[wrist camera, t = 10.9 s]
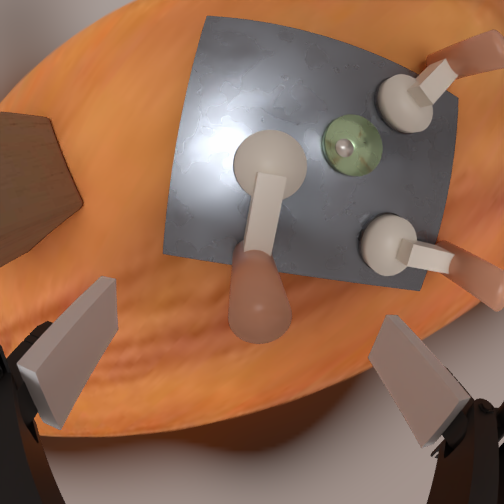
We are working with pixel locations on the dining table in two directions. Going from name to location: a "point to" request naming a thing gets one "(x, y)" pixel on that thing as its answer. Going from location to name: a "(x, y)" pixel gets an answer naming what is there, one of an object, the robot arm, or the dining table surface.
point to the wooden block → (31, 184)
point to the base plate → (314, 146)
